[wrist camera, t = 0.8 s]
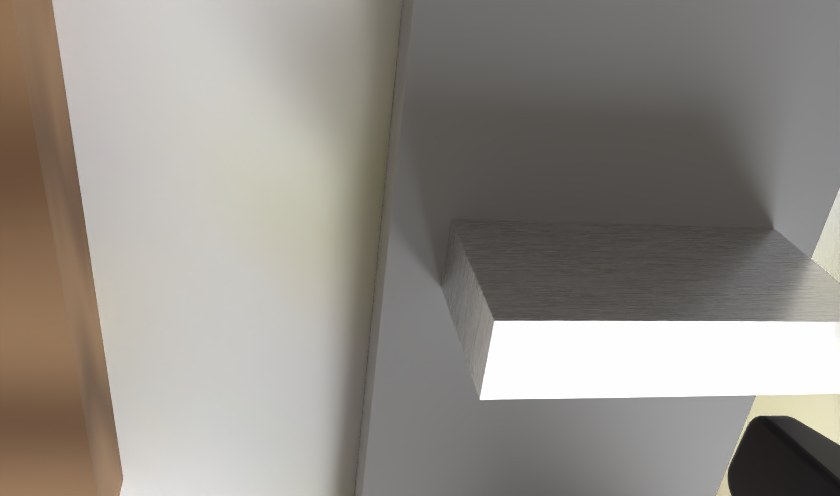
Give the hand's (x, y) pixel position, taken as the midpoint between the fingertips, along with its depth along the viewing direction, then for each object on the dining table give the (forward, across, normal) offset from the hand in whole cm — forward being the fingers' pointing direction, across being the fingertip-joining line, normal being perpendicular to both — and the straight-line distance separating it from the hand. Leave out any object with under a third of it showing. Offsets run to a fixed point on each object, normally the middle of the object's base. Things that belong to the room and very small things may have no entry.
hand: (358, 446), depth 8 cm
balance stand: (+12, -8, +4) cm, 15 cm away
